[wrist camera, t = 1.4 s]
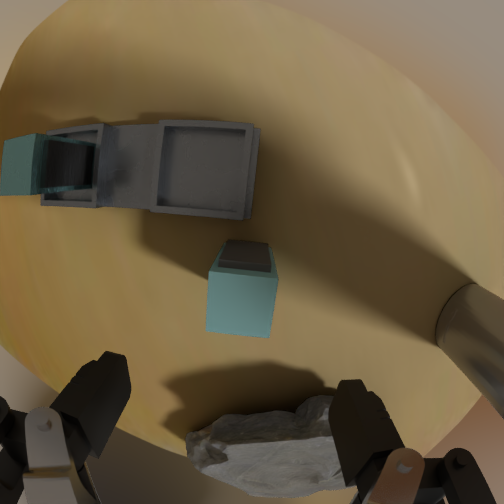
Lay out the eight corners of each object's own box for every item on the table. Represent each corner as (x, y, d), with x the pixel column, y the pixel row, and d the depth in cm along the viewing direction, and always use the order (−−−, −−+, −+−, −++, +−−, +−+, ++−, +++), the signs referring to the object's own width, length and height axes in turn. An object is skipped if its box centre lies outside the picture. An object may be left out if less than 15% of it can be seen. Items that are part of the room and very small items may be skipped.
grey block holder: (260, 133, 21) (263, 95, 11) (250, 215, 23) (247, 239, 13) (64, 135, 21) (-6, 125, 11) (58, 201, 22) (-12, 215, 13)
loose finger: (271, 241, 23) (279, 270, 16) (265, 290, 24) (269, 338, 17) (224, 236, 23) (209, 262, 15) (220, 286, 24) (205, 331, 17)
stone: (394, 486, 23) (234, 521, 26) (379, 449, 32) (236, 484, 34) (405, 398, 18) (150, 453, 20) (374, 350, 26) (168, 403, 28)
